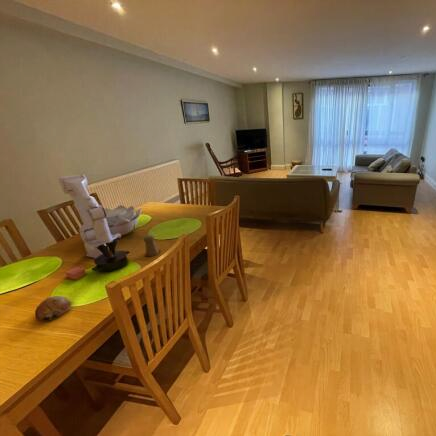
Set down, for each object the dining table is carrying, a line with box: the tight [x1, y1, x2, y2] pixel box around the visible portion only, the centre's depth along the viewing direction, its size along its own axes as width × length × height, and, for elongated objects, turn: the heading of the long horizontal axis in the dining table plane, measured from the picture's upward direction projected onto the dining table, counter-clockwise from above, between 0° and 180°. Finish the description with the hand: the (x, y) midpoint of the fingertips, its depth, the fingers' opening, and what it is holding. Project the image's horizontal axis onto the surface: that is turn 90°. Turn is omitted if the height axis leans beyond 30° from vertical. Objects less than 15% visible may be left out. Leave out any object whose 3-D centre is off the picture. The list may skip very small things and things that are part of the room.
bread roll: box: [34, 295, 72, 322], centre depth 92 cm, size 10×10×8 cm
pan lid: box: [93, 249, 128, 266], centre depth 121 cm, size 14×14×5 cm
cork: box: [143, 234, 160, 257], centre depth 132 cm, size 6×6×11 cm
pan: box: [91, 250, 130, 273], centre depth 122 cm, size 12×18×4 cm
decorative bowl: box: [90, 204, 142, 237], centre depth 154 cm, size 30×30×15 cm
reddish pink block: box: [65, 266, 87, 281], centre depth 114 cm, size 6×4×3 cm
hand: (110, 255), depth 121 cm, fingers closed on pan lid, 2 cm apart
